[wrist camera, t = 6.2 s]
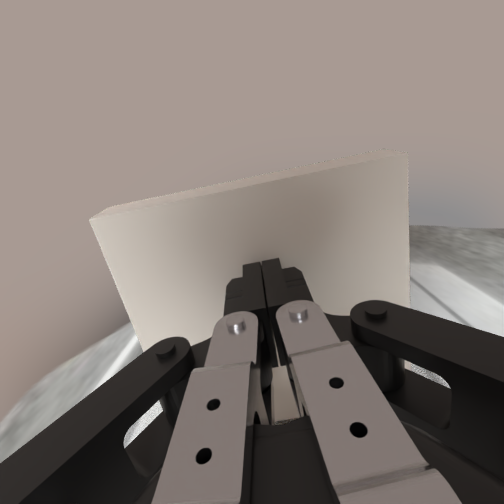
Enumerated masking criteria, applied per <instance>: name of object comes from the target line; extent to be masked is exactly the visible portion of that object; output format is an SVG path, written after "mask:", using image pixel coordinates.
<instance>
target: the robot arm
mask: <svg viewBox="0 0 504 504" xmlns="http://www.w3.org/2000/svg"><path fill="white" fill-rule="evenodd" d="M262 269H263V272H262ZM263 276H264V277H263ZM274 338H275V339H274ZM275 342H276V346H275ZM276 347H277V352H278V356H279V361H280V366H285V365H286V368H287V372H288V378H289V382H290V387H291V390H292V394H293V397H294V401H295V404H296V408H297V411H298V415H299V419H296V420H294V421H291V422H289V423H287V424H284V425H275V416H274V386H273V382H272V379H273V372H272V368H275V367H279V366H278V359H277V352H276ZM405 360H406V361H408V362H411V363H413V364H415V365H417V366H420V367H422V368H424V369H427V370H429V371H431V372H434V373H436V374H438V375H439V376H441V377H442V378H443V379H444V380H445V381H446V382H447V383H448V384H449V386H450V388H451V389H449V388H447V387H445V386H443V385H441V384H438V383H436V382H434V381H432V380H430V379H427V378H425V377H423V376H421V375H419V374H416V373H414V372H412V371H410V370H408V369H405ZM158 400H159V401H160V404H161V406H162V408H163V412H162V413H160V414H159V415H158V416H157V417H156V418H155V419H154V420H153V421H152V422H151V423H150V424H149V425H148V426H147V427H146V428H145V429H144V430H143V431H142V432H141V433H140V434H139V435H138V436H137V437H136V438H135V439H134V440H133V441H132V442H131V443H130V444H129V445H128V446H127V447H126V448H124V445H123V442H124V437H125V435H126V433H127V431H128V429H129V428H130V427H131V426H132V425H133V424H134V423H135V422H136V421H137V420H138V419H139V418H140V417H141V416H142V415H143V414H144V413H146V412H147V411H148V410H149V409H150V408H151V407H152V406H153V405H154V404H155V403H156V402H157V401H158ZM0 504H504V337H502V336H498V335H495V334H492V333H489V332H485V331H482V330H479V329H475V328H472V327H469V326H466V325H462V324H459V323H456V322H453V321H449V320H446V319H443V318H440V317H436V316H433V315H430V314H427V313H423V312H420V311H417V310H414V309H410V308H407V307H404V306H400V305H397V304H394V303H391V302H387V301H382V300H368V301H364V302H361V303H358V304H356V305H355V306H354V307H353V308H352V309H351V311H350V316H340V315H331V314H327V313H324V312H323V311H322V309H321V308H320V306H319V305H318V304H316V303H315V302H314V300H313V298H312V296H311V293H310V291H309V288H308V286H307V284H306V281H305V279H304V276H303V273H302V271H300V270H299V269H297V268H296V267H289V268H284V269H282V267H281V264H280V260H279V258H274V259H269V260H264V261H262V268H261V263H260V262H254V263H249V264H244V265H243V277H239V278H234V279H231V281H230V282H229V283H228V284H227V286H226V294H225V304H224V314H223V317H222V318H221V319H220V320H219V321H218V322H217V323H216V324H215V327H214V330H213V334H212V337H210V338H209V339H207V340H205V341H202V342H200V343H197V344H195V345H193V346H190V343H189V341H188V340H187V339H186V338H184V337H178V336H177V337H170V338H166V339H163V340H161V341H159V342H157V343H155V344H154V345H153V346H151V347H150V348H149V349H147V350H146V351H145V352H144V353H142V354H141V355H140V356H138V357H137V358H136V359H135V360H133V361H132V362H131V363H129V364H128V365H127V366H125V367H124V368H123V369H122V370H120V371H119V372H118V373H116V374H115V375H114V376H113V377H111V378H110V379H109V380H107V381H106V382H105V383H104V384H102V385H101V386H100V387H98V388H97V389H96V390H95V391H93V392H92V393H91V394H89V395H88V396H87V397H85V398H84V399H83V400H82V401H80V402H79V403H78V404H76V405H75V406H74V407H73V408H71V409H70V410H69V411H67V412H66V413H65V414H64V415H62V416H61V417H60V418H58V419H57V420H56V421H55V422H53V423H52V424H51V425H49V426H48V427H47V428H45V429H44V430H43V431H42V432H40V433H39V434H38V435H36V436H35V437H34V438H33V439H31V440H30V441H29V442H27V443H26V444H25V445H24V446H22V447H21V448H20V449H18V450H17V451H16V452H15V453H13V454H12V455H11V456H9V457H8V458H7V459H5V460H4V461H3V462H2V463H0Z"/></svg>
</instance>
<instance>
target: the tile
mask: <svg viewBox="0 0 504 504" xmlns="http://www.w3.org/2000/svg"><path fill="white" fill-rule="evenodd" d="M89 221H90V224H91V226H92V228H93V231H94V233H95V236H96V238H97V240H98V243H99V245H100V248H101V250H102V253H103V255H104V257H105V260H106V262H107V264H108V267H109V270H110V272H111V274H112V277H113V279H114V282H115V284H116V286H117V289H118V291H119V293H120V296H121V299H122V301H123V303H124V306H125V308H126V311H127V313H128V315H129V318H130V320H131V323H132V325H133V328H134V330H135V332H136V335H137V337H138V340H139V342H140V344H141V347H142V349H143V352H145V351H146V350H147V349H149V348H150V347H151V346H153V345H154V344H155V343H157V342H159V341H161V340H163V339H166V338H170V337H177V336H178V337H184V338H186V339H187V340H188V341H189V343H190V346H193V345H195V344H197V343H200V342H202V341H205V340H207V339H209V338H210V337H212V334H213V330H214V327H215V324H216V323H217V322H218V321H219V320H220V319H221V318H222V317H223V314H224V304H225V294H226V286H227V284H228V283H229V282H230V281H231V279H234V278H239V277H243V265H244V264H249V263H254V262H260V263H261V268H262V261H264V260H269V259H274V258H279V260H280V264H281V267H282V269H284V268H289V267H296V268H297V269H299V270H300V271H302V273H303V276H304V279H305V281H306V284H307V286H308V288H309V291H310V293H311V296H312V298H313V300H314V302H315V303H316V304H318V305H319V306H320V308H321V309H322V311H323V312H324V313H327V314H331V315H340V316H350V311H351V309H352V308H353V307H354V306H355V305H356V304H358V303H361V302H364V301H368V300H382V301H387V302H391V303H394V304H397V305H400V306H404V307H407V308H410V259H409V199H408V153H407V152H401V151H395V150H389V149H381V150H376V151H372V152H367V153H362V154H357V155H353V156H349V157H343V158H339V159H334V160H329V161H324V162H320V163H315V164H310V165H305V166H301V167H296V168H291V169H286V170H282V171H277V172H272V173H267V174H263V175H258V176H253V177H248V178H244V179H239V180H235V181H230V182H225V183H220V184H215V185H211V186H206V187H201V188H197V189H192V190H187V191H182V192H178V193H173V194H168V195H163V196H158V197H154V198H149V199H144V200H140V201H135V202H131V203H126V204H121V205H116V206H111V207H108V208H107V209H105V210H104V211H102V212H100V213H99V214H97V215H95V216H94V217H92V218H90V219H89ZM262 272H263V269H262ZM263 277H264V276H263ZM274 339H275V338H274ZM275 346H276V342H275ZM276 352H277V347H276ZM277 359H278V366H279V367H275V368H272V372H273V379H272V382H273V386H274V416H275V421H281V420H287V419H293V418H299V415H298V411H297V408H296V404H295V401H294V397H293V394H292V390H291V387H290V382H289V378H288V372H287V368H286V365H285V366H280V361H279V356H278V352H277ZM405 369H408V370H410V371H411V362H408V361H406V360H405Z"/></svg>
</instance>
